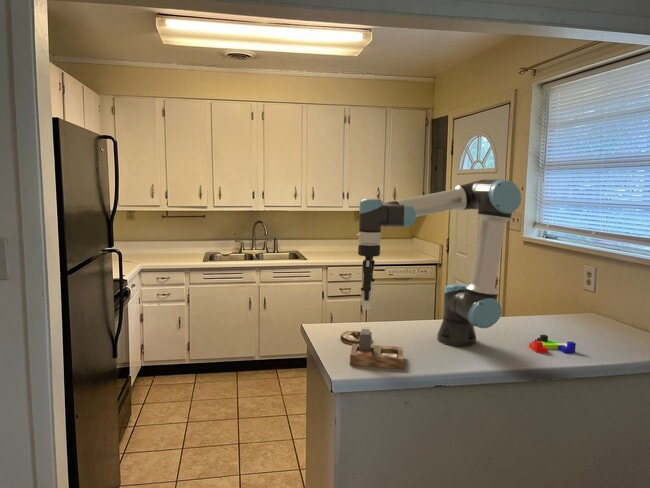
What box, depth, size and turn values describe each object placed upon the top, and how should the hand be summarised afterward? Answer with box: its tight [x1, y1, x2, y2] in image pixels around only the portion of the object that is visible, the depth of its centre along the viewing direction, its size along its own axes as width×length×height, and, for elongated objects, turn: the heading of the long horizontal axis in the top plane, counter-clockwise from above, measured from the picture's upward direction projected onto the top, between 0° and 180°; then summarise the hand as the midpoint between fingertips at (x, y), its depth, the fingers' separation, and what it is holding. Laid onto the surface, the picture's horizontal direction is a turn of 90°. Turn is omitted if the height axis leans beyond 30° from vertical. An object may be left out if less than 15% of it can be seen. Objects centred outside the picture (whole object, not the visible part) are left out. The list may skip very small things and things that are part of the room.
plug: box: [359, 326, 373, 352], centre depth 171 cm, size 4×4×10 cm
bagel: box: [339, 330, 373, 346], centre depth 193 cm, size 15×15×4 cm
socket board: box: [349, 344, 404, 370], centre depth 171 cm, size 18×12×4 cm, turn 82°
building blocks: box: [528, 334, 577, 354], centre depth 191 cm, size 15×13×4 cm
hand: (367, 304), depth 169 cm, fingers open, 13 cm apart
